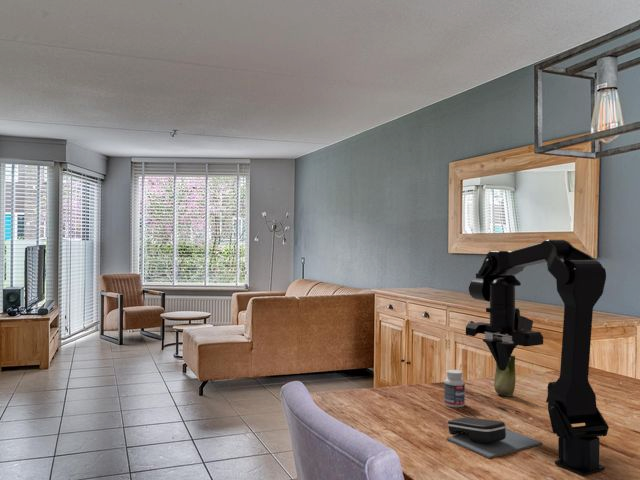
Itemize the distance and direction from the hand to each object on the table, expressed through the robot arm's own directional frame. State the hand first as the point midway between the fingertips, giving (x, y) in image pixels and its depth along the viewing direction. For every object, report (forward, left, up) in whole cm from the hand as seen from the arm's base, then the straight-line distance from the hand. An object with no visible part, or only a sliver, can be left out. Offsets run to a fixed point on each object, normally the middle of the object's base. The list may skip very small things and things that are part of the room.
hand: (502, 370), depth 128 cm
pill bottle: (+18, -2, -13) cm, 22 cm away
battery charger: (+2, +13, -12) cm, 18 cm away
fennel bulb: (+18, -21, -13) cm, 31 cm away
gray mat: (-6, +10, -13) cm, 18 cm away
